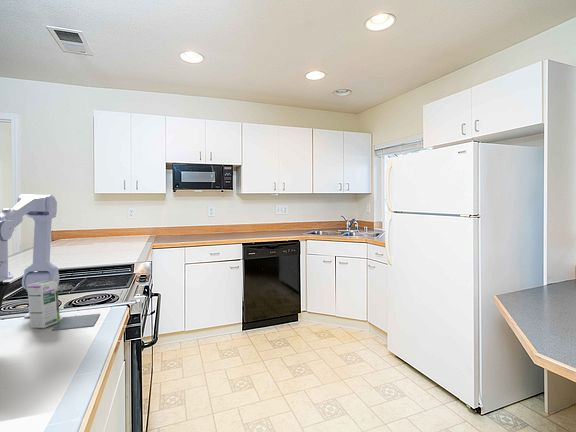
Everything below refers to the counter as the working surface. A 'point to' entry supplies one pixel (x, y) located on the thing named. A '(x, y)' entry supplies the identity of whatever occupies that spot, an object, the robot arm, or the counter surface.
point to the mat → (76, 322)
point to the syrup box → (43, 304)
